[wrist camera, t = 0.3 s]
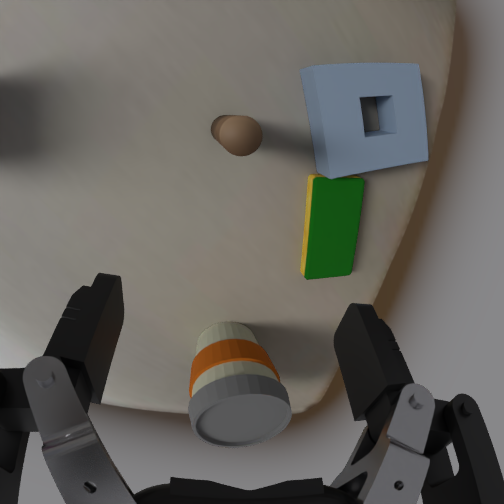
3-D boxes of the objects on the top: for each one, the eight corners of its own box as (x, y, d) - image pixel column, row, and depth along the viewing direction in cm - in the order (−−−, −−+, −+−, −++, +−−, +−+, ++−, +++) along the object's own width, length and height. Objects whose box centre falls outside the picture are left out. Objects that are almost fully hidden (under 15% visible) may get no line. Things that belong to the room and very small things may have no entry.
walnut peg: (208, 118, 33) (216, 120, 22) (236, 112, 33) (258, 112, 22) (214, 145, 34) (226, 160, 23) (241, 139, 34) (265, 151, 24)
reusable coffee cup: (168, 334, 44) (168, 416, 30) (245, 297, 44) (271, 376, 30) (210, 382, 50) (221, 457, 36) (278, 352, 49) (306, 425, 36)
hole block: (299, 69, 32) (312, 65, 28) (400, 65, 33) (418, 64, 30) (317, 172, 38) (330, 178, 34) (410, 154, 39) (428, 160, 35)
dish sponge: (299, 271, 44) (304, 280, 42) (307, 173, 38) (314, 177, 36) (344, 267, 45) (351, 275, 43) (356, 174, 39) (365, 178, 37)
